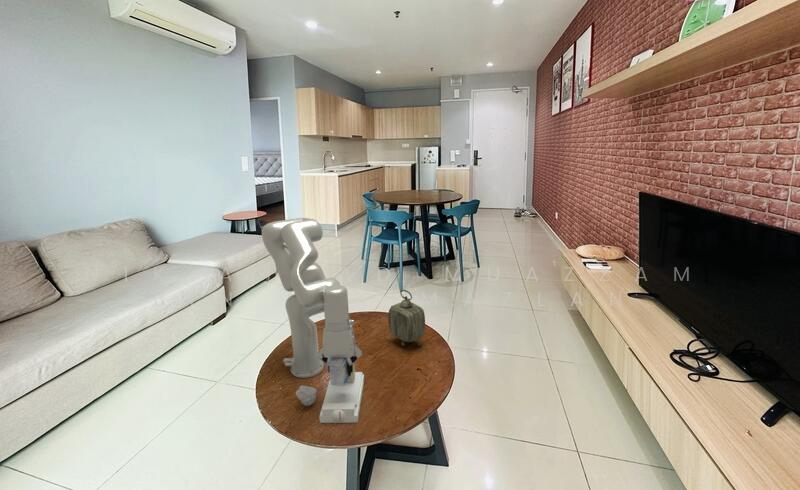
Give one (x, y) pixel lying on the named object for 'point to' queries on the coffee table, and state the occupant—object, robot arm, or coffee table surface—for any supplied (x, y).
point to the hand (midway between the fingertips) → (340, 373)
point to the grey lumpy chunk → (306, 395)
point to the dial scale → (343, 402)
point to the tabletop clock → (407, 320)
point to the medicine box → (338, 371)
